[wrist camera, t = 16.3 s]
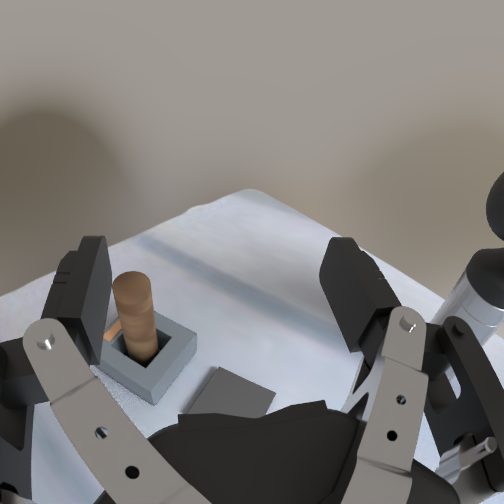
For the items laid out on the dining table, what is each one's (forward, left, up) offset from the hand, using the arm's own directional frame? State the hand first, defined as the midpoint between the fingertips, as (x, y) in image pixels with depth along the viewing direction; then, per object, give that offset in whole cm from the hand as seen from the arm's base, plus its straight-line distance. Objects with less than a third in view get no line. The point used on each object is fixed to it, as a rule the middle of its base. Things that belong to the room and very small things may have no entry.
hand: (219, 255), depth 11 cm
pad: (-8, -1, -30) cm, 31 cm away
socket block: (-8, -14, -30) cm, 34 cm away
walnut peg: (-8, -14, -30) cm, 34 cm away
